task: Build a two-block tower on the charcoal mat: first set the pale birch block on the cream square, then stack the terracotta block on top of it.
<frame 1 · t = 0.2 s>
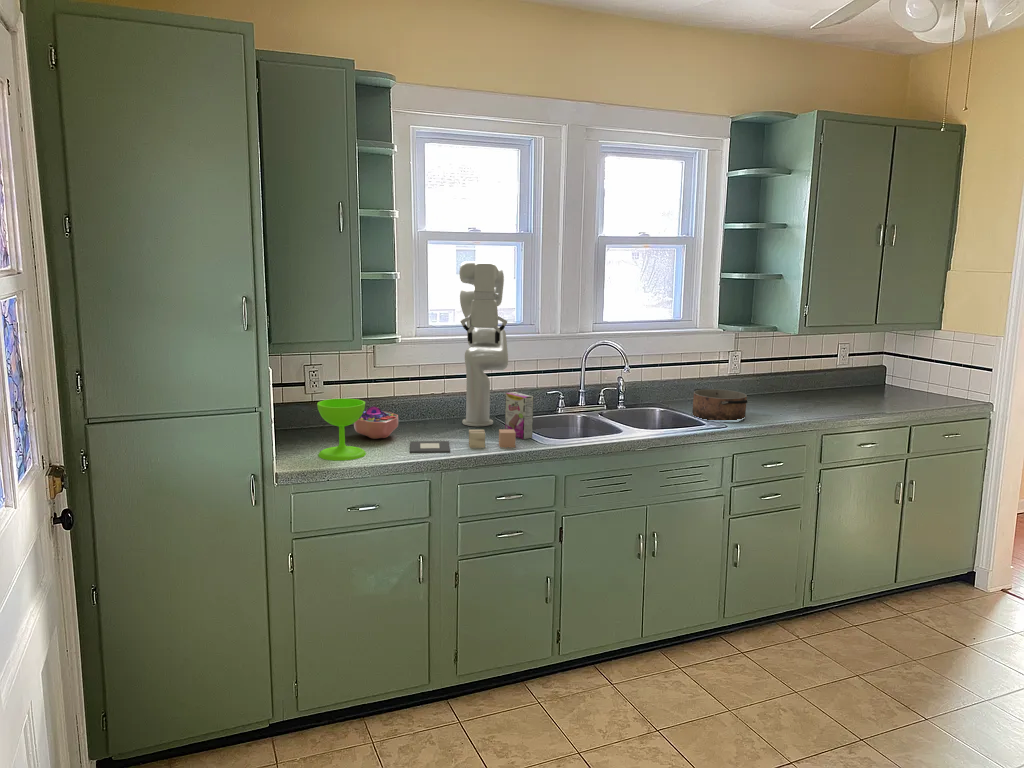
hand: (483, 343, 286), 36 cm above the worktop, tool pointing down, fingers open, 9 cm apart
cell model: (375, 437, 291), on the worktop
birch block: (476, 446, 281), on the worktop
candy bar box: (518, 436, 297), on the worktop
wineglass: (342, 454, 266), on the worktop
cooking pot: (718, 418, 339), on the worktop
terracotta block: (506, 445, 283), on the worktop
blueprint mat: (429, 447, 277), on the worktop
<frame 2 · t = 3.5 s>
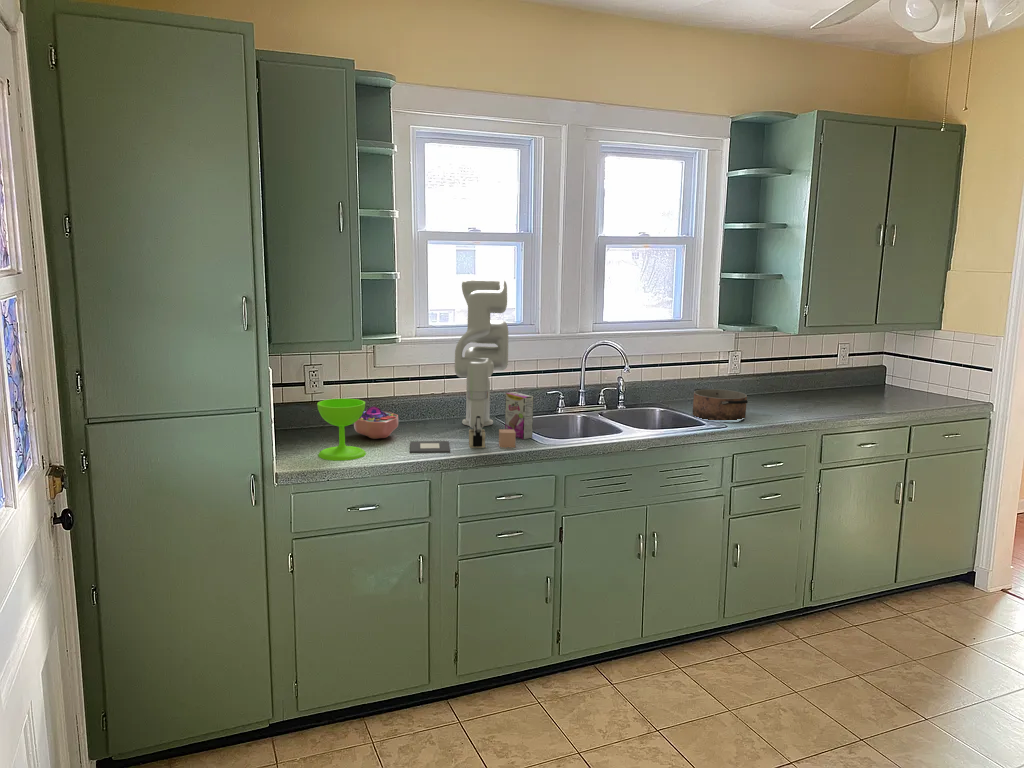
hand: (476, 443, 281), 1 cm above the worktop, tool pointing down, fingers closed on birch block, 5 cm apart
birch block: (476, 445, 281), on the worktop, touching gripper
everything else where it was.
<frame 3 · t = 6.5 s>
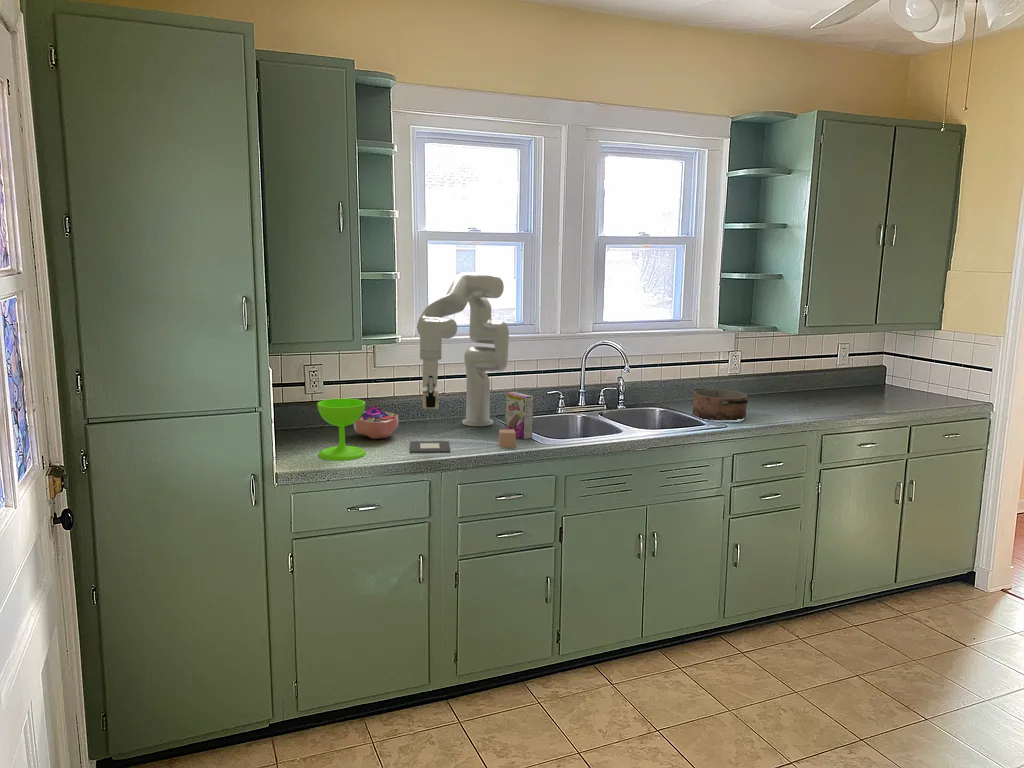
hand: (430, 405, 275), 16 cm above the worktop, tool pointing down, fingers closed on birch block, 5 cm apart
birch block: (430, 407, 275), point 15 cm above the worktop, touching gripper
everything else where it was.
when the fingers open (2 cm above the worktop, at t = 9.4 s): birch block stays where it is, resting on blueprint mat.
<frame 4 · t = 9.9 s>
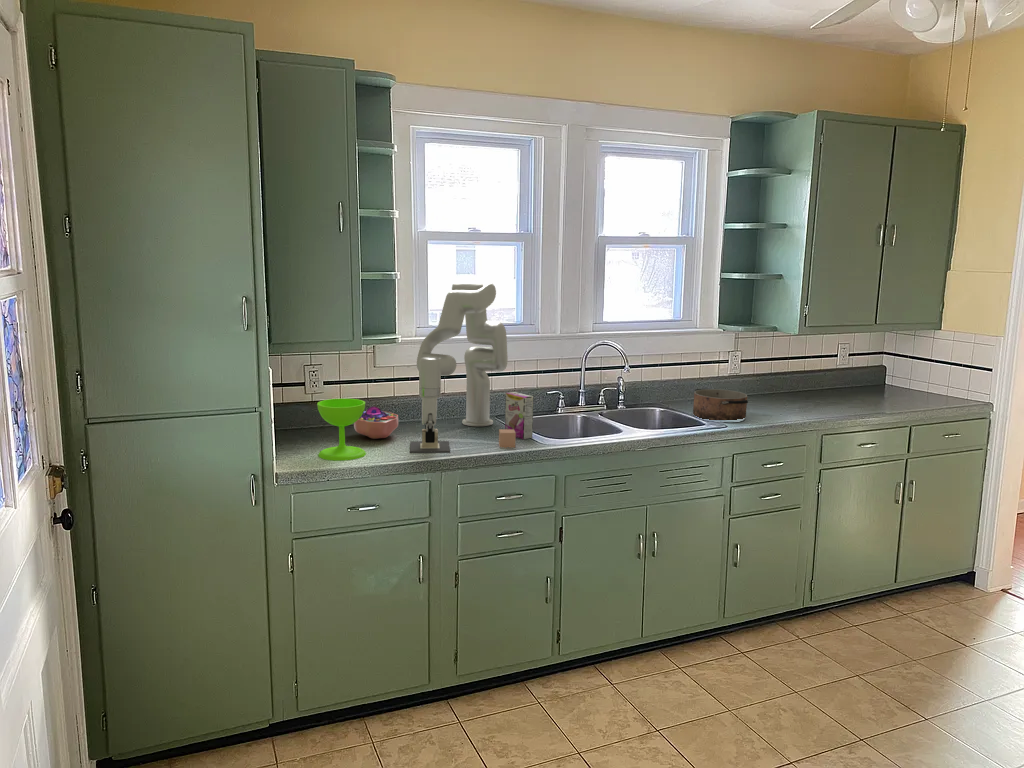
hand: (429, 439, 277), 3 cm above the worktop, tool pointing down, fingers open, 9 cm apart
birch block: (429, 445, 277), point 1 cm above the worktop, touching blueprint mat
everything else where it was.
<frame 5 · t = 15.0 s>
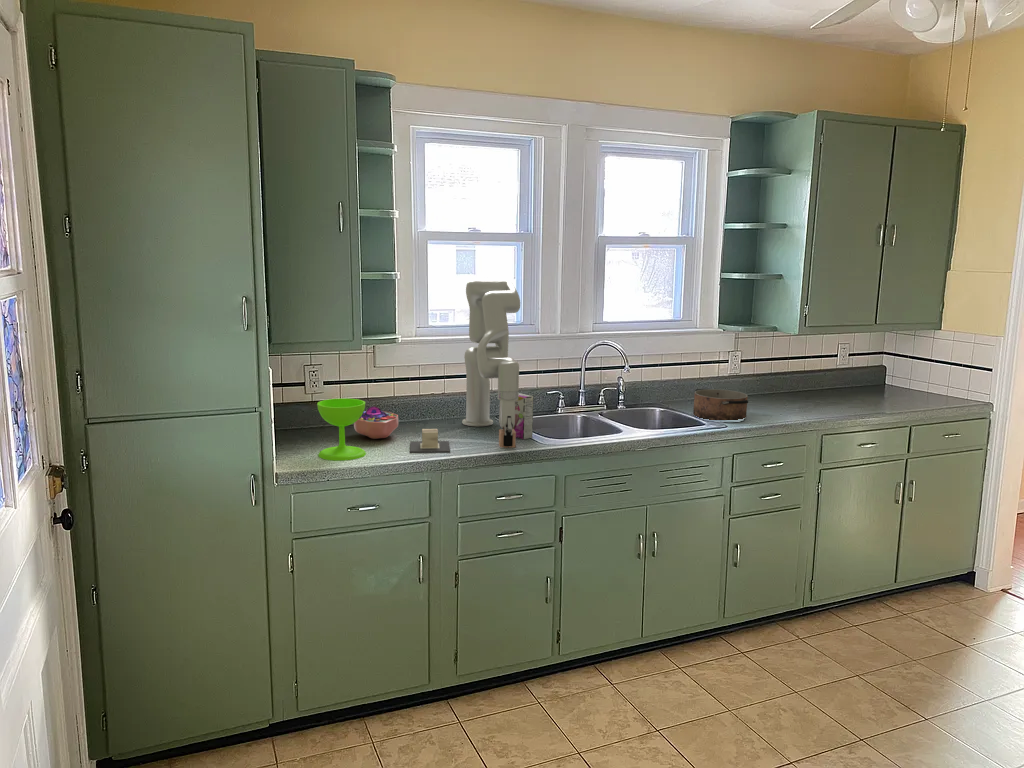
hand: (507, 443, 283), 1 cm above the worktop, tool pointing down, fingers closed on terracotta block, 5 cm apart
terracotta block: (507, 445, 283), on the worktop, touching gripper
everything else where it was.
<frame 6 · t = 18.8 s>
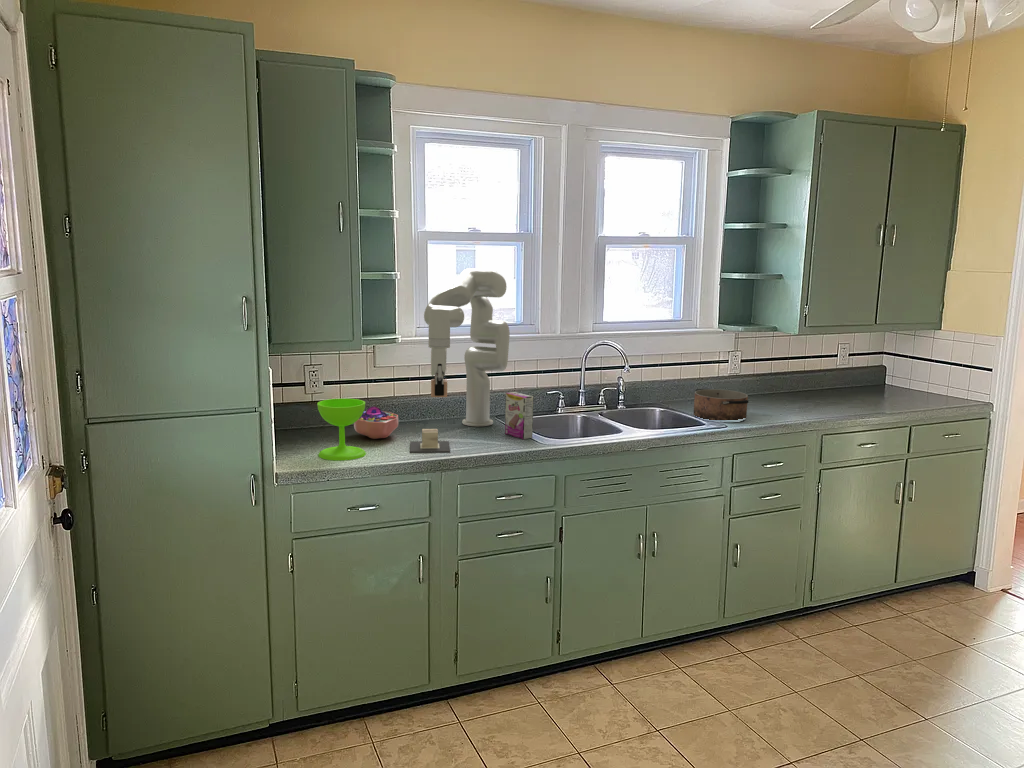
hand: (438, 393, 274), 20 cm above the worktop, tool pointing down, fingers closed on terracotta block, 5 cm apart
terracotta block: (439, 395, 275), point 19 cm above the worktop, touching gripper
everything else where it was.
when the fingers open (8 cm above the worktop, at t = 22.5 s): terracotta block stays where it is, resting on birch block.
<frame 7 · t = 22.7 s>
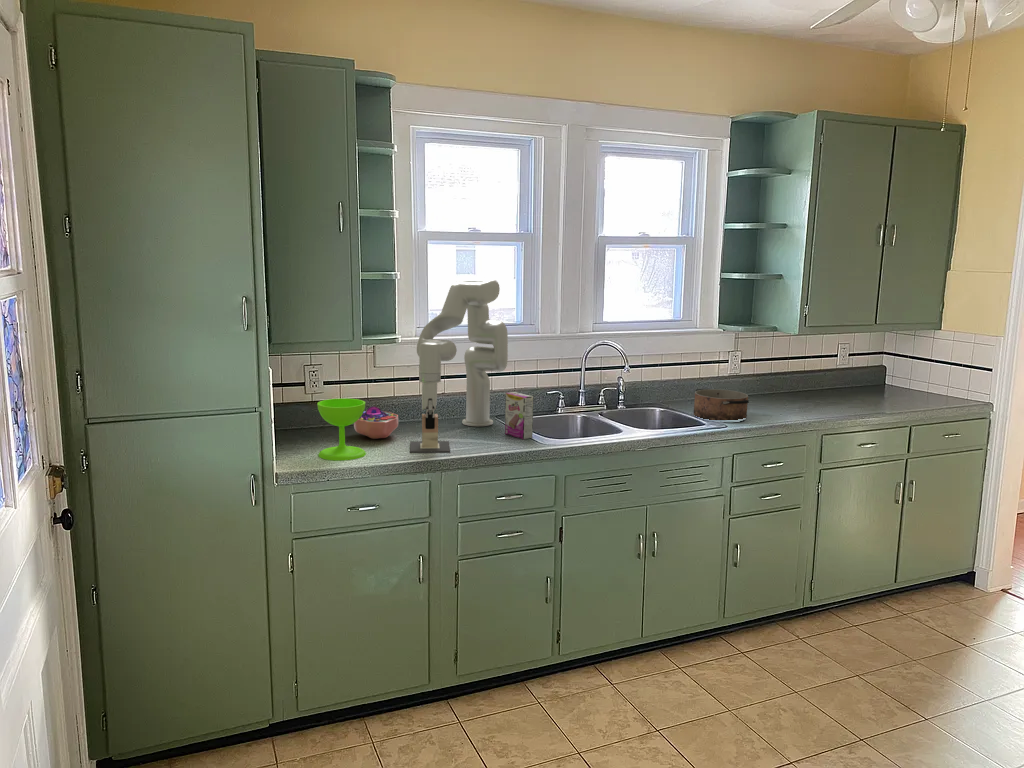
hand: (429, 425, 276), 8 cm above the worktop, tool pointing down, fingers open, 7 cm apart
birch block: (429, 445, 277), point 1 cm above the worktop, touching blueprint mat, terracotta block
terracotta block: (430, 430, 276), point 6 cm above the worktop, touching birch block
everything else where it was.
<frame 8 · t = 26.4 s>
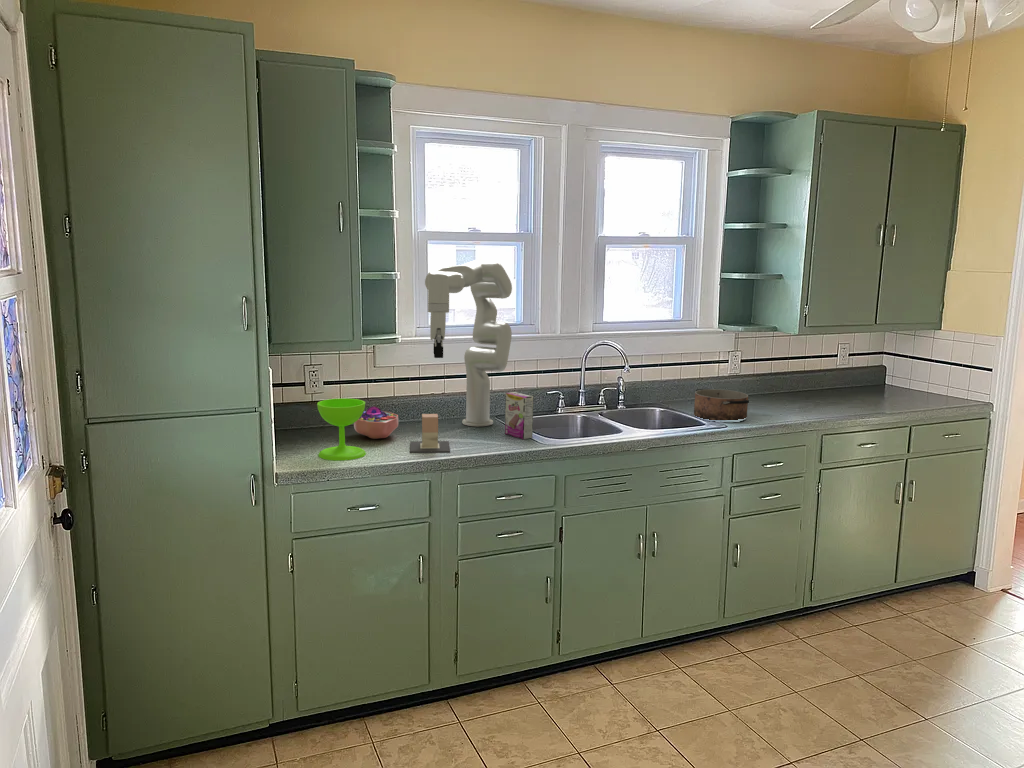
hand: (438, 355, 278), 32 cm above the worktop, tool pointing down, fingers open, 9 cm apart
nothing on the worktop moved.
at the end: birch block 0.0 cm off-centre on the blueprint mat, point 0.7 cm above the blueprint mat's base; terracotta block 0.0 cm off-centre on the birch block, point 5.5 cm above the birch block's base; terracotta block tilted 0° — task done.
